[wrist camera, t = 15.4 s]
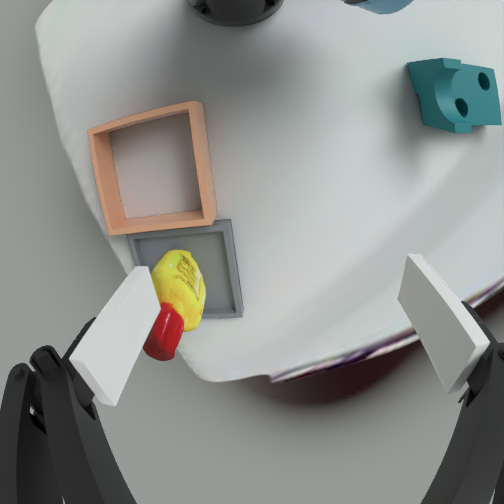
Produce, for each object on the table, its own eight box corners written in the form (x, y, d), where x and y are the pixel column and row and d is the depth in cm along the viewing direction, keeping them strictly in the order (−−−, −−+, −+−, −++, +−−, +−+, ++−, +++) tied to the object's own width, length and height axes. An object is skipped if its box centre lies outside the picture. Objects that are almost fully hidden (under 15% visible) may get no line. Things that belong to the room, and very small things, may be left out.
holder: (103, 128, 38) (87, 130, 33) (203, 103, 36) (194, 100, 31) (122, 225, 45) (109, 235, 41) (217, 214, 44) (212, 224, 39)
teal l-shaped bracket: (419, 123, 35) (455, 133, 26) (406, 62, 30) (442, 57, 21) (485, 120, 32) (520, 131, 23) (476, 68, 27) (513, 70, 18)
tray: (132, 229, 46) (126, 234, 43) (230, 219, 44) (228, 224, 42) (157, 310, 53) (153, 318, 51) (243, 309, 52) (242, 317, 49)
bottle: (218, 295, 50) (195, 381, 32) (188, 302, 51) (155, 384, 33) (191, 237, 45) (146, 311, 27) (159, 248, 46) (106, 320, 28)
